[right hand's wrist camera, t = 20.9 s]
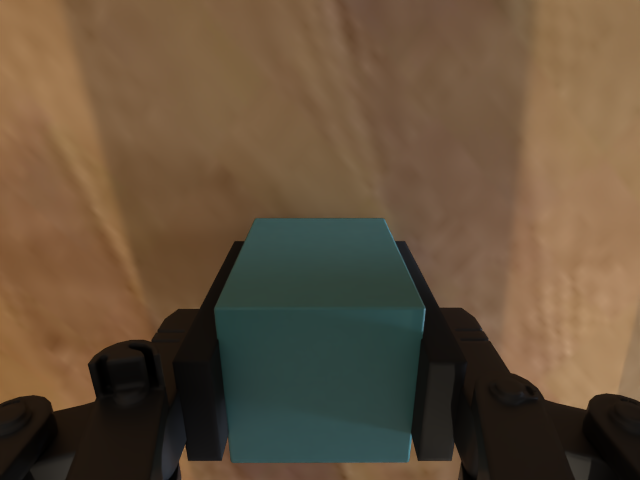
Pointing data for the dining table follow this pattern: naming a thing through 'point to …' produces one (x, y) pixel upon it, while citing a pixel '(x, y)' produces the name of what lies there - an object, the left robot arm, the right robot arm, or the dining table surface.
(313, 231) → the teal block
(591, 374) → the dining table surface
